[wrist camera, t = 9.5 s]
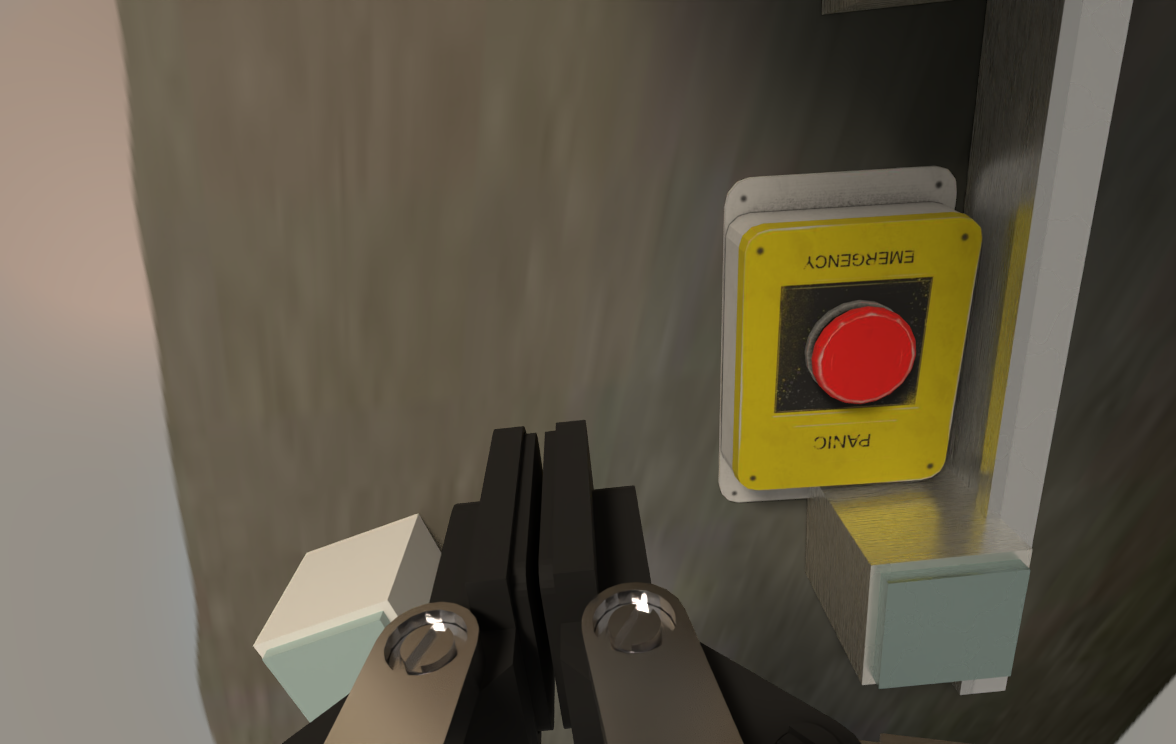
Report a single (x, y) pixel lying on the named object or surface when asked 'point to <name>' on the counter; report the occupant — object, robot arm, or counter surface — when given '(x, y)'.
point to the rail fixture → (984, 368)
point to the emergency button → (841, 328)
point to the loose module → (345, 609)
